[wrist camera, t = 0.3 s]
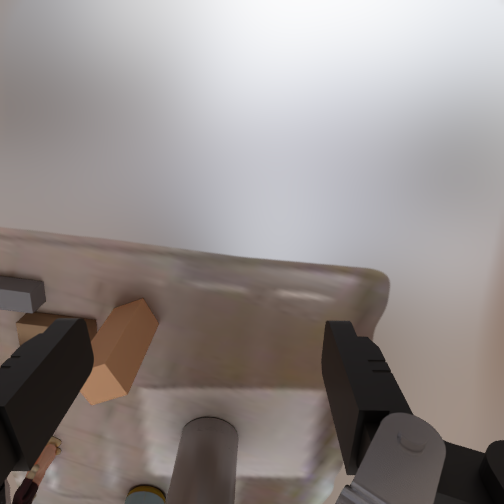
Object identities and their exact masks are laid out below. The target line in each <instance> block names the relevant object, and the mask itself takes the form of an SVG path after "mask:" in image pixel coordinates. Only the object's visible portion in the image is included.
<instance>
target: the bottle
mask: <svg viewBox="0 0 504 504" xmlns="http://www.w3.org/2000/svg"><path fill="white" fill-rule="evenodd" d="M125 504H165V497H164V495H163V494H162V492H161V491H160V490H158V489H157V488H154V487H151V486H138V487H136V488H134V489H133V490H131V491H130V492H129V493H128V495H127V498H126V501H125Z"/></svg>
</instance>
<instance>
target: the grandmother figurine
mask: <svg viewBox="0 0 504 504" xmlns="http://www.w3.org/2000/svg"><path fill="white" fill-rule="evenodd" d="M60 444H61V441H60V440H59V439H57V438H55V437H51V438H50V440H49V442H48V443H47V445H46V446H45V448H44V450H43V451H42V453H41V454H40V456H39V458H38V459H37V461H36V462H35V464H34V466H33V467H32V469H31V471H28V472H27V474H26V477H25V479H24V480H23V482H22V484H21V485H20V487H19V488H18V489H17V491H16V492H15V495H14V498H13V502H12V504H32V502H33V500H34V498H35V497H36V492H37V490H38V487H39V485H40V483H41V481H42V479H43V477H44V475H45V471H46V470H47V468H48V467H49V465H50V464H51V463H52V461H53V460H54V458H55V456H56V455H59V454H60V453H61V449H60V448H57V447H58V446H60Z"/></svg>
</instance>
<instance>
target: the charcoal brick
mask: <svg viewBox="0 0 504 504" xmlns="http://www.w3.org/2000/svg"><path fill="white" fill-rule="evenodd" d="M45 302H46V298H45V290H44V282H42V281H35V280H27V279H20V278H12V277H4V276H0V309H2V310H9V311H17V312H25V313H34V312H35V311H36V310H37V309H38V308H39V307H40V306H41V305H42V304H43V303H45Z"/></svg>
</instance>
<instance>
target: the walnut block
mask: <svg viewBox="0 0 504 504" xmlns="http://www.w3.org/2000/svg"><path fill="white" fill-rule="evenodd" d="M58 318H77V317H70V316H62V315H54V314H46V313H39V312H34V313H26V314H25V315H24V316H23V317H22V318H21V319H20V320H19V321H17V322H16V326H17V332H18V338H19V343H20V346H21V345H22V344H23V343H25V342H26V341H28V340H29V339H31V338H33V337H34V336H36V335H38V334H39V333H43V332H44V331H45V330H46V329H47V328H48V327H49V326H50V325H51V324H52V323H53V322H54V321H55V320H56V319H58ZM82 319H84V320H85V322H86V324H87V328H88V332H89V337H90V341H92V339H93V338H94V337H95V335H96V334H97V325H96V320H93V319H85V318H82Z"/></svg>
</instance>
